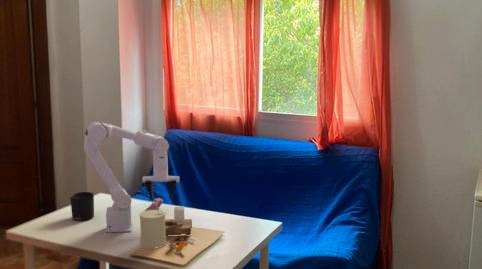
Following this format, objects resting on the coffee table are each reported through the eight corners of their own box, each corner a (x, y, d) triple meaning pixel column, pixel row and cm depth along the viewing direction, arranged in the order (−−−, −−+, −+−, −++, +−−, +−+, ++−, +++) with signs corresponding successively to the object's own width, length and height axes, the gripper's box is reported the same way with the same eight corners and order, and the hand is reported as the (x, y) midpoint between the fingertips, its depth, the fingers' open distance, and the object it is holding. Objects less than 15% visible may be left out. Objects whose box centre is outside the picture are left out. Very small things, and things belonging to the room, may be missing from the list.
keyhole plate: (153, 236, 192) (153, 228, 192) (156, 227, 202) (156, 219, 201) (190, 236, 193) (190, 228, 192) (192, 226, 202) (191, 219, 202)
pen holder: (68, 217, 213) (66, 194, 212) (89, 212, 219) (87, 190, 218) (77, 223, 206) (75, 200, 205) (98, 218, 212) (97, 195, 211)
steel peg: (174, 233, 196) (173, 209, 194) (175, 229, 200) (174, 206, 198) (184, 233, 196) (183, 209, 194) (185, 229, 200) (184, 206, 198)
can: (162, 249, 181) (161, 217, 178) (137, 248, 182) (136, 216, 180) (169, 239, 190) (168, 208, 187) (145, 238, 191) (144, 207, 189)
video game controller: (152, 218, 216) (158, 205, 215) (143, 213, 217) (149, 200, 215) (160, 211, 226) (166, 198, 224) (151, 206, 226) (157, 193, 225)
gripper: (140, 169, 199) (142, 202, 201) (177, 168, 199) (178, 201, 201) (143, 164, 205) (144, 196, 208) (179, 164, 206) (180, 196, 208)
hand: (161, 198), depth 205 cm, fingers open, 7 cm apart
